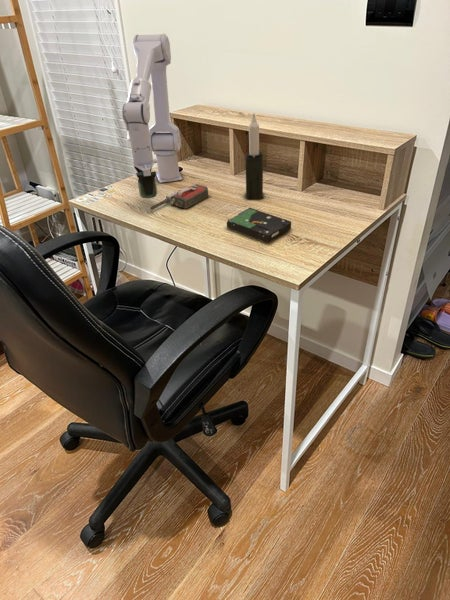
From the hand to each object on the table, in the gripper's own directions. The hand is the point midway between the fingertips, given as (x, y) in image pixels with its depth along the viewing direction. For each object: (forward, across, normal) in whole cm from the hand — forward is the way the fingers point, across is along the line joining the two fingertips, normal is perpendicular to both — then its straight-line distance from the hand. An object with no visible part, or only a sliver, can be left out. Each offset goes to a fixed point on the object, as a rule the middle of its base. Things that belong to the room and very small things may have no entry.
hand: (148, 191), depth 138 cm
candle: (+5, -5, -32) cm, 33 cm away
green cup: (+1, 0, 0) cm, 1 cm away
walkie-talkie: (+5, -2, -10) cm, 11 cm away
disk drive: (+5, -27, -26) cm, 38 cm away
